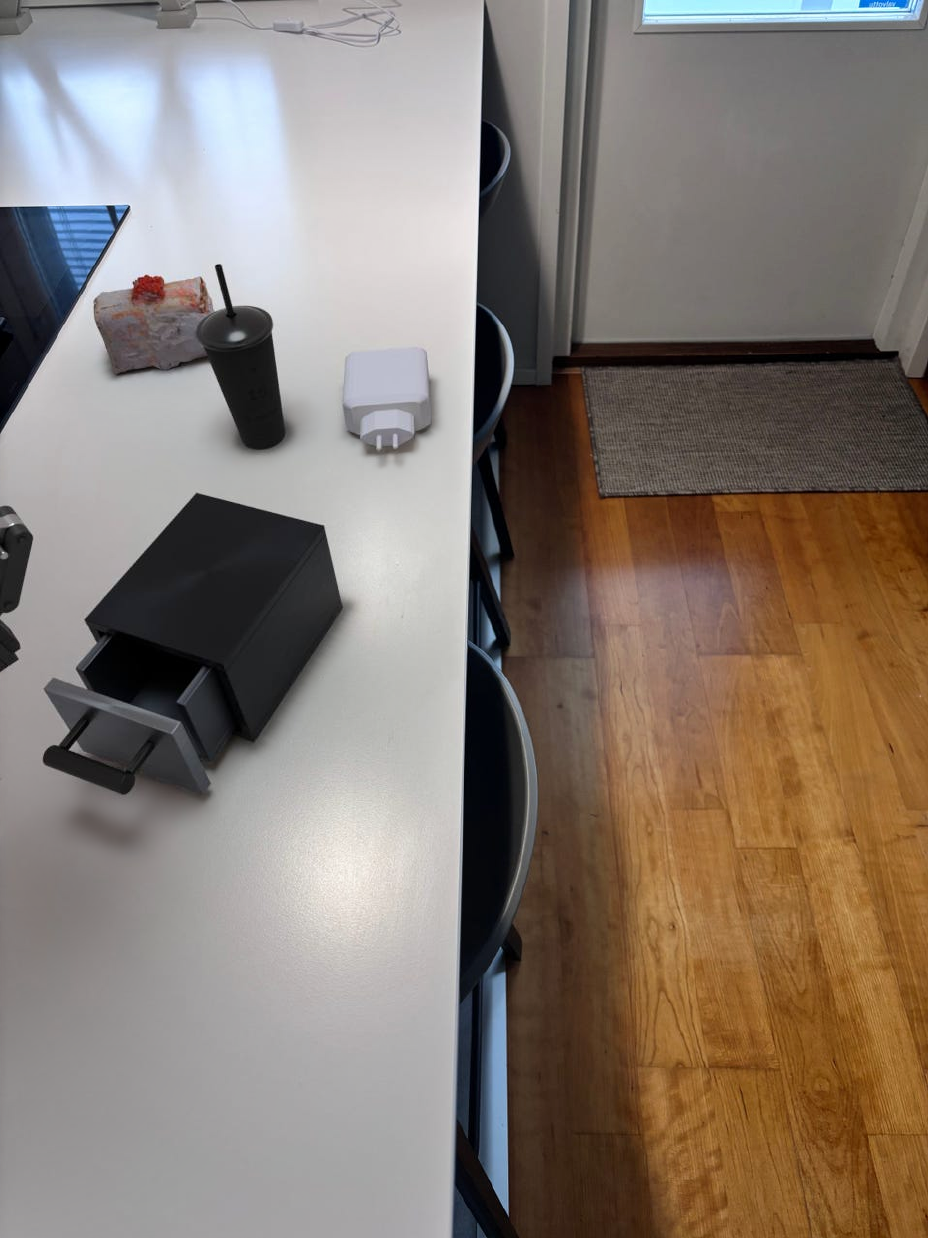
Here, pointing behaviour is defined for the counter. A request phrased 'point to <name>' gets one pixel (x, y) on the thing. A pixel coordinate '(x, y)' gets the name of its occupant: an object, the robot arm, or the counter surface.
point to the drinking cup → (245, 368)
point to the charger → (386, 395)
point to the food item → (153, 322)
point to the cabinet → (230, 600)
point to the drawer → (140, 717)
